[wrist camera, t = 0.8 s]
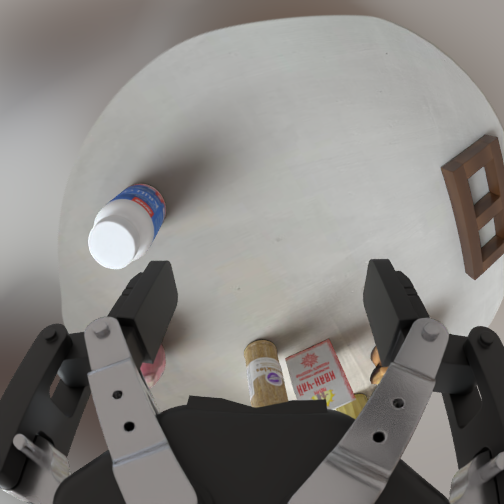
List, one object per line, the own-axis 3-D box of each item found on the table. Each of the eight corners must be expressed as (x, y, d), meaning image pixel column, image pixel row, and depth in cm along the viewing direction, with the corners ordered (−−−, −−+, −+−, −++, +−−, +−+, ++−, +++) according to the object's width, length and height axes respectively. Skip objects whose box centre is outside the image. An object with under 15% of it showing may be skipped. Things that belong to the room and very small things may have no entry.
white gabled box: (335, 353, 41) (358, 405, 33) (294, 372, 42) (309, 426, 33) (329, 338, 40) (353, 392, 31) (285, 358, 41) (300, 414, 32)
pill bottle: (172, 190, 29) (153, 223, 20) (160, 237, 31) (140, 286, 22) (122, 176, 28) (84, 204, 19) (113, 224, 30) (78, 267, 21)
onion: (155, 369, 39) (149, 408, 33) (106, 347, 37) (93, 385, 30) (177, 333, 37) (171, 374, 30) (121, 308, 34) (106, 347, 28)
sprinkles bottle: (279, 338, 39) (301, 421, 27) (273, 362, 41) (291, 441, 29) (244, 338, 38) (257, 424, 26) (241, 362, 40) (251, 444, 28)
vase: (339, 396, 47) (365, 462, 34) (370, 390, 47) (399, 451, 35) (333, 415, 49) (354, 476, 37) (361, 408, 50) (386, 466, 37)
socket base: (465, 272, 38) (474, 280, 36) (440, 167, 31) (452, 172, 28) (504, 237, 37) (513, 243, 35) (485, 134, 29) (497, 137, 27)
